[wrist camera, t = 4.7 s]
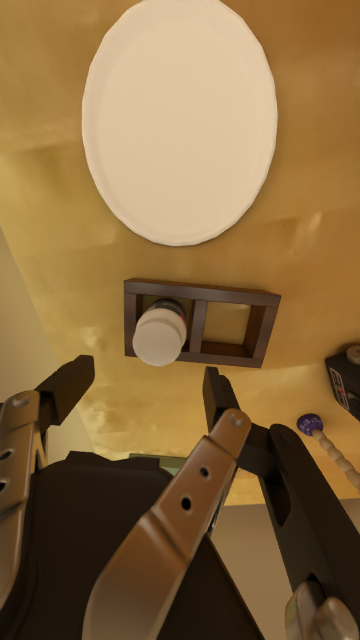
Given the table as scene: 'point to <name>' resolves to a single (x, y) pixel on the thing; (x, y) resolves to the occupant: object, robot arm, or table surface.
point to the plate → (179, 119)
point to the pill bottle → (160, 333)
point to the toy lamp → (328, 446)
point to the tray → (166, 462)
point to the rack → (194, 347)
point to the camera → (346, 379)
